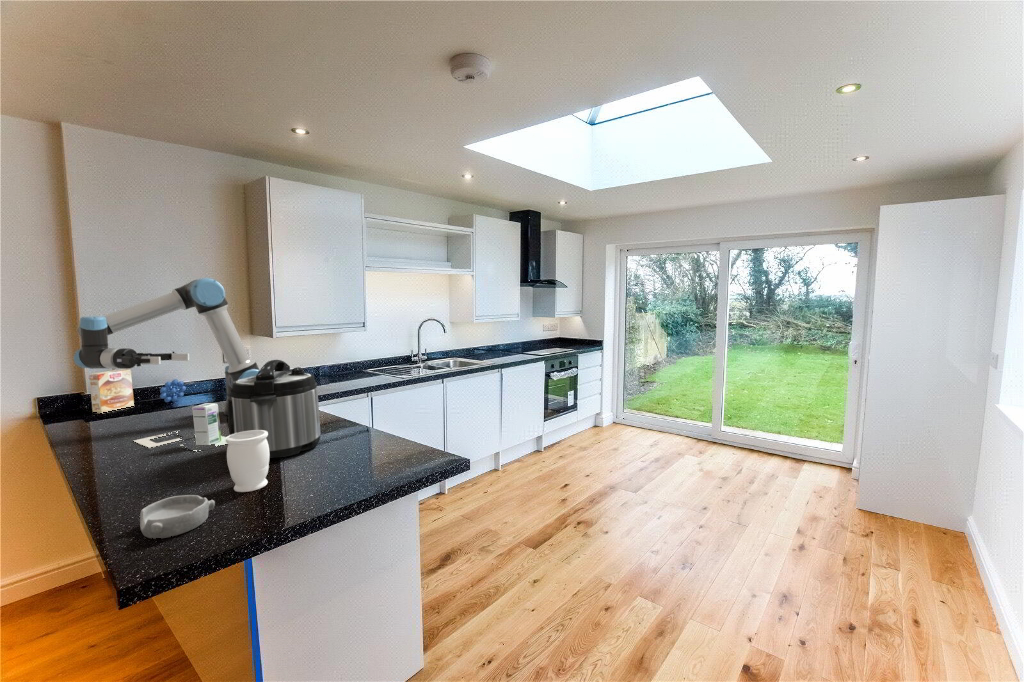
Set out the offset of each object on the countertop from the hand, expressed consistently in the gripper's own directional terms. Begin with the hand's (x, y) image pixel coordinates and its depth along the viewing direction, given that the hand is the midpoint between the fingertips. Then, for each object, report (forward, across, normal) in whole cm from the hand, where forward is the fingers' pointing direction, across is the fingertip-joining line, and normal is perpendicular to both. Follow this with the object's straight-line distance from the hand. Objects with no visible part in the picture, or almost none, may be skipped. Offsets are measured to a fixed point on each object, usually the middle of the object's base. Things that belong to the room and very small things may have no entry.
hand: (174, 358), depth 173 cm
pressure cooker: (+43, +8, -31) cm, 54 cm away
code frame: (-9, -5, -32) cm, 33 cm away
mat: (+13, +1, -32) cm, 34 cm away
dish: (+50, +62, -33) cm, 86 cm away
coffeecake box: (-78, -55, -32) cm, 101 cm away
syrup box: (+13, +1, -31) cm, 34 cm away
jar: (+54, +40, -32) cm, 74 cm away
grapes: (-62, -73, -31) cm, 100 cm away
